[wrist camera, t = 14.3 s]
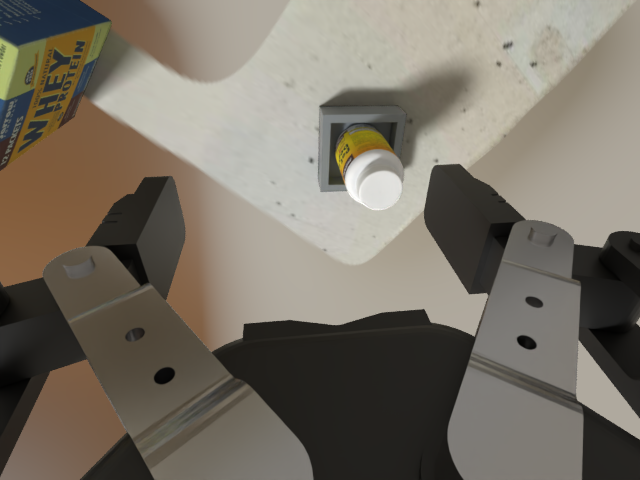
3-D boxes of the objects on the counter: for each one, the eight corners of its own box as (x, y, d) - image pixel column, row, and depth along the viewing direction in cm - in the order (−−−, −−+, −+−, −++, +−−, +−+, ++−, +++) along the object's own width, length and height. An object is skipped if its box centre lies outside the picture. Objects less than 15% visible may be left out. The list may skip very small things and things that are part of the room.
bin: (319, 106, 39) (323, 114, 37) (398, 105, 40) (406, 114, 38) (317, 179, 44) (320, 191, 42) (388, 178, 45) (395, 189, 43)
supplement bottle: (334, 122, 40) (351, 162, 31) (386, 121, 40) (417, 159, 32) (332, 172, 43) (348, 220, 34) (381, 170, 43) (407, 216, 35)
